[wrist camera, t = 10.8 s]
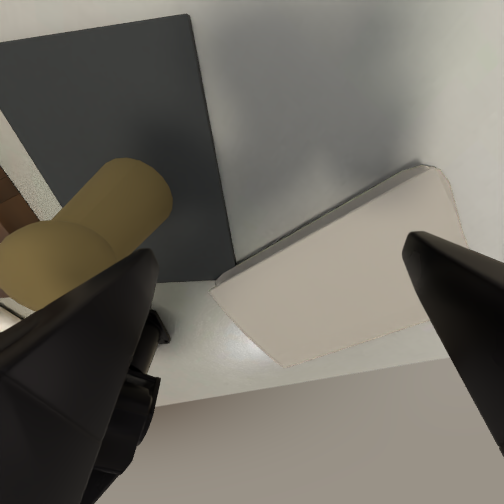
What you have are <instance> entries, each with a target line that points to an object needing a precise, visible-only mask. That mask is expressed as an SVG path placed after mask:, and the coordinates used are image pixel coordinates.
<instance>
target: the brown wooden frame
mask: <svg viewBox="0 0 504 504" xmlns="http://www.w3.org/2000/svg"><path fill="white" fill-rule="evenodd" d="M38 221H39V220H38V218H37V217H36V215H35V214H34V213H33V211H32V210H31V208H30V207H29V206H28V204H27V203H26V201H25V200H24V199H23V197H22V196H21V194H19V192H18V190H17V189H16V188H15V186H14V185H13V183H12V182H11V181H10V179H9V178H8V177H7V175H6V174H5V172H4V171H3V169H2V168H1V167H0V244H1V242H2V241H3V240H4V239H5V238H6V237H7V236H8V235H10V234H11V233H13V232H15V231H16V230H18V229H20V228H22V227H24V226H27V225H29V224H32V223H35V222H38ZM6 297H9V296H8V295H7V294H6V293H5V292H4V291H3V290H2V289H1V288H0V298H6Z"/></svg>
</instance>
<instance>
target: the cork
mask: <svg viewBox="0 0 504 504" xmlns="http://www.w3.org/2000/svg"><path fill="white" fill-rule="evenodd" d="M172 204H173V198H172V194H171V191H170V188H169V186H168V184H167V183H166V181H165V180H164V178H163V177H162V176H161V175H160V174H159V173H158V172H157V171H156V170H155V169H154V168H153V167H151V166H149V165H147V164H145V163H143V162H142V161H140V160H135V159H131V158H115V159H113V160H111V161H109V162H107V163H105V164H104V165H103V166H102V167H101V168H100V170H99V171H98V172H97V173H96V174H95V175H94V176H93V177H92V178H91V179H90V180H89V181H88V182H87V183H86V184H85V185H84V186H83V187H82V188H81V189H80V190H79V192H78V193H77V194H76V195H75V196H74V197H73V198H72V199H71V200H70V201H69V202H68V203H67V204H66V205H65V206H64V207H63V208H62V209H61V210H60V211H59V212H58V214H57V215H56V216H55V217H54V218H53V219H52V220H49V221H38V222H35V223H32V224H29V225H27V226H24V227H22V228H20V229H18V230H16V231H15V232H13V233H11V234H10V235H8V236H7V237H6V238H5V239H4V240H3V241H2V242H1V244H0V288H1V289H2V290H3V291H4V292H5V293H6V294H7V295H8V296H9V297H11V298H12V299H13V300H15V301H16V302H18V303H19V304H21V305H23V306H25V307H27V308H29V309H31V310H33V311H38V310H40V309H42V308H44V307H45V306H46V305H48V304H49V303H51V302H53V301H54V300H56V299H58V298H59V297H61V296H63V295H64V294H66V293H67V292H69V291H71V290H72V289H74V288H76V287H77V286H79V285H81V284H82V283H84V282H85V281H87V280H89V279H90V278H92V277H94V276H95V275H97V274H99V273H100V272H102V271H103V270H105V269H107V268H108V267H110V266H112V265H113V264H115V263H117V262H118V261H120V260H121V259H123V258H125V257H126V256H128V255H130V254H131V253H132V252H133V251H134V250H135V249H136V248H137V247H138V246H139V245H140V244H141V243H142V242H143V241H144V240H145V239H146V238H147V237H149V236H150V235H151V234H152V233H153V232H154V231H155V230H156V229H157V228H158V227H159V226H160V225H161V224H162V223H163V222H164V221H165V220H166V219H167V218H168V217H169V215H170V213H171V210H172Z"/></svg>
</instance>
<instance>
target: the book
mask: <svg viewBox="0 0 504 504" xmlns="http://www.w3.org/2000/svg"><path fill="white" fill-rule="evenodd" d="M412 231H425V232H428V233H430V234H433V235H435V236H438V237H440V238H443V239H445V240H448V241H450V242H453V243H455V244H458V245H460V246H463V247H465V248H468V249H469V247H468V244H467V241H466V239H465V236H464V233H463V231H462V227H461V223H460V219H459V216H458V212H457V208H456V204H455V200H454V197H453V193H452V189H451V185H450V182H449V181H448V179H447V178H446V177H445V175H444V174H443V173H442V171H441V170H440V169H437V168H435V167H434V166H432V167H428V166H424V165H420V166H417V167H414V168H410V169H407V170H404V171H401V172H399V173H398V174H396V175H394V176H392V177H391V178H389V179H387V180H385V181H384V182H382V183H380V184H378V185H377V186H375V187H373V188H371V189H370V190H368V191H366V192H364V193H363V194H361V195H359V196H357V197H356V198H354V199H352V200H350V201H349V202H347V203H345V204H343V205H342V206H340V207H338V208H336V209H335V210H333V211H331V212H329V213H328V214H326V215H324V216H322V217H321V218H319V219H317V220H315V221H314V222H312V223H310V224H308V225H307V226H305V227H303V228H301V229H300V230H298V231H296V232H294V233H293V234H291V235H289V236H287V237H286V238H284V239H282V240H280V241H279V242H277V243H275V244H273V245H272V246H270V247H268V248H266V249H265V250H263V251H261V252H259V253H258V254H256V255H254V256H253V257H251V258H249V259H247V260H246V261H244V262H242V263H240V264H239V265H237V266H235V267H233V268H232V269H230V270H228V271H226V272H225V273H223V274H222V275H221V276H220V277H219V278H218V279H217V280H216V281H215V287H213V288H212V289H210V290H209V291H208V292H209V293H210V294H211V296H212V297H213V298H214V299H215V301H216V302H217V303H218V304H219V306H220V307H221V308H222V310H223V311H224V312H225V313H226V315H227V316H228V317H229V318H230V319H231V320H232V321H233V322H234V323H235V324H236V325H237V326H238V327H239V328H240V330H241V331H242V332H243V333H244V334H245V335H246V336H247V337H248V338H250V339H251V340H252V341H253V342H254V343H255V344H256V345H257V346H258V347H259V348H260V349H261V350H262V351H263V352H265V353H266V354H267V355H268V356H269V357H270V358H271V359H273V360H274V361H275V362H276V363H278V364H279V365H280V366H282V367H283V368H284V369H285V368H288V367H291V366H294V365H297V364H300V363H303V362H306V361H309V360H312V359H315V358H318V357H321V356H324V355H327V354H330V353H333V352H336V351H339V350H342V349H345V348H348V347H351V346H354V345H357V344H360V343H363V342H366V341H369V340H372V339H375V338H378V337H381V336H384V335H387V334H390V333H393V332H396V331H399V330H402V329H405V328H408V327H411V326H414V325H417V324H420V323H423V322H426V321H429V320H430V319H429V317H428V315H427V313H426V312H425V310H424V308H423V306H422V304H421V302H420V300H419V298H418V296H417V294H416V292H415V290H414V287H413V285H412V282H411V279H410V277H409V274H408V272H407V269H406V267H405V264H404V262H403V259H402V249H403V246H404V243H405V240H406V237H407V235H408V233H410V232H412Z"/></svg>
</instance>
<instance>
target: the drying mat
mask: <svg viewBox="0 0 504 504" xmlns="http://www.w3.org/2000/svg"><path fill="white" fill-rule="evenodd" d="M0 110H1V111H2V113H3V114H4V116H5V117H6V119H7V121H8V122H9V124H10V125H11V127H12V129H13V130H14V132H15V133H16V135H17V137H18V138H19V140H20V141H21V143H22V144H23V146H24V148H25V149H26V151H27V152H28V154H29V156H30V157H31V159H32V160H33V162H34V164H35V165H36V167H37V168H38V170H39V171H40V173H41V175H42V176H43V178H44V179H45V181H46V183H47V184H48V186H49V187H50V189H51V191H52V192H53V194H54V195H55V197H56V199H57V200H58V202H59V203H60V205H61V206H62V208H63V207H64V206H65V205H66V204H67V203H68V202H69V201H70V200H71V199H72V198H73V197H74V196H75V195H76V194H77V193H78V192H79V190H80V189H81V188H82V187H83V186H84V185H85V184H86V183H87V182H88V181H89V180H90V179H91V178H92V177H93V176H94V175H95V174H96V173H97V172H98V171H99V170H100V168H101V167H102V166H103V165H104V164H105V163H107V162H109V161H111V160H113V159H115V158H131V159H135V160H140V161H142V162H143V163H145V164H147V165H149V166H151V167H153V168H154V169H155V170H156V171H157V172H158V173H159V174H160V175H161V176H162V177H163V178H164V180H165V181H166V183H167V184H168V186H169V188H170V191H171V194H172V198H173V204H172V210H171V213H170V215H169V217H168V218H167V219H166V220H165V221H164V222H163V223H162V224H161V225H160V226H159V227H158V228H157V229H156V230H155V231H154V232H153V233H152V234H151V235H150V236H149V237H147V238H146V239H145V240H144V241H143V242H142V243H141V244H140V245H139V246H138V247H137V248H136V249H135V250H134V251H133V252H135V251H136V250H138V249H143V248H150V249H151V250H152V251H153V253H154V255H155V258H156V260H157V262H158V264H159V274H158V279H157V283H166V282H186V281H206V280H217V279H218V278H219V277H220V276H221V275H222V274H223V273H225V272H226V271H228V270H230V269H232V268H233V267H235V266H236V261H235V256H234V250H233V245H232V239H231V234H230V229H229V223H228V218H227V213H226V207H225V202H224V197H223V191H222V186H221V180H220V175H219V170H218V164H217V159H216V154H215V148H214V143H213V137H212V132H211V127H210V121H209V116H208V111H207V105H206V100H205V95H204V89H203V84H202V78H201V73H200V68H199V62H198V57H197V52H196V46H195V41H194V35H193V30H192V25H191V19H190V15H188V14H181V15H175V16H168V17H162V18H155V19H149V20H142V21H136V22H129V23H123V24H116V25H110V26H104V27H97V28H91V29H84V30H78V31H71V32H65V33H58V34H52V35H45V36H39V37H33V38H26V39H20V40H13V41H7V42H0ZM133 252H132V253H133Z"/></svg>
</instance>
